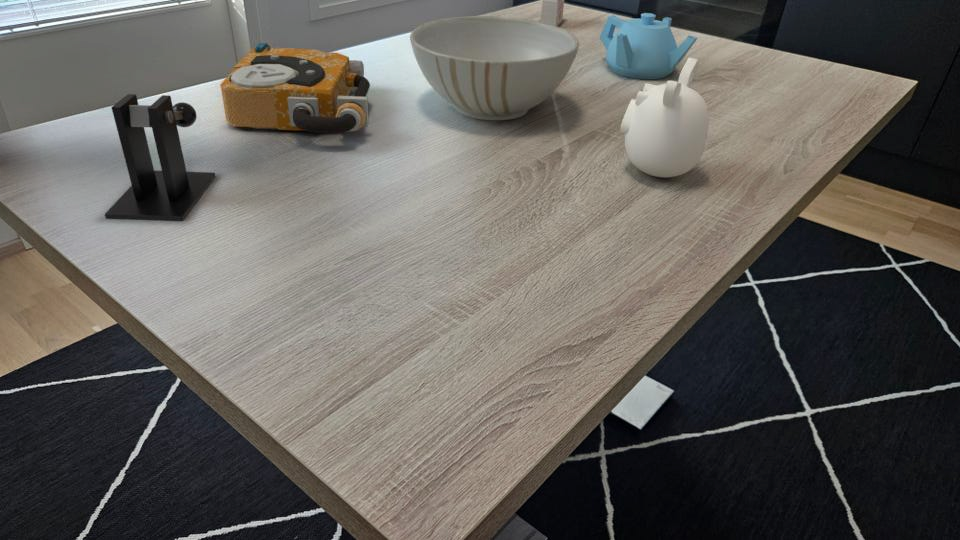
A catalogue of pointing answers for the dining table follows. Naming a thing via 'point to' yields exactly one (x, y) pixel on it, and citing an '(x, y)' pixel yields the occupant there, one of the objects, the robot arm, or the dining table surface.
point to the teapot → (643, 46)
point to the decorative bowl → (493, 62)
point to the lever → (182, 112)
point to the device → (296, 91)
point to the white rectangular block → (552, 12)
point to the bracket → (153, 190)
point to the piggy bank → (666, 126)
